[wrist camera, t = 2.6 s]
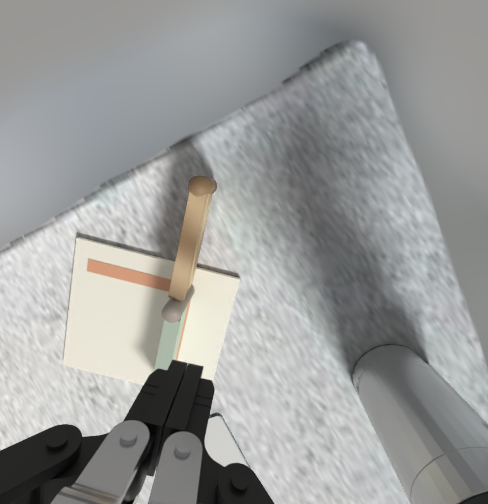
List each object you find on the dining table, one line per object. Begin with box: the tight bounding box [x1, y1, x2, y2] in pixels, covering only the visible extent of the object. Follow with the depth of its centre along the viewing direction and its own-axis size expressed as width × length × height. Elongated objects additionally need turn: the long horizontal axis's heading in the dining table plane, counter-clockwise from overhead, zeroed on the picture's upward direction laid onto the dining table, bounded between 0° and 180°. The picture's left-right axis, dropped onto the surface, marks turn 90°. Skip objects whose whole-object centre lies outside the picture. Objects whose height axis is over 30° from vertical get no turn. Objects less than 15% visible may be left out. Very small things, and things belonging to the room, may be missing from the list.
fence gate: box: [168, 176, 217, 301], centre depth 29 cm, size 12×2×6 cm, turn 166°
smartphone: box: [205, 413, 251, 469], centre depth 41 cm, size 7×1×15 cm
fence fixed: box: [154, 285, 195, 371], centre depth 33 cm, size 2×15×7 cm, turn 166°
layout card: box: [63, 237, 240, 385], centre depth 36 cm, size 20×18×1 cm
